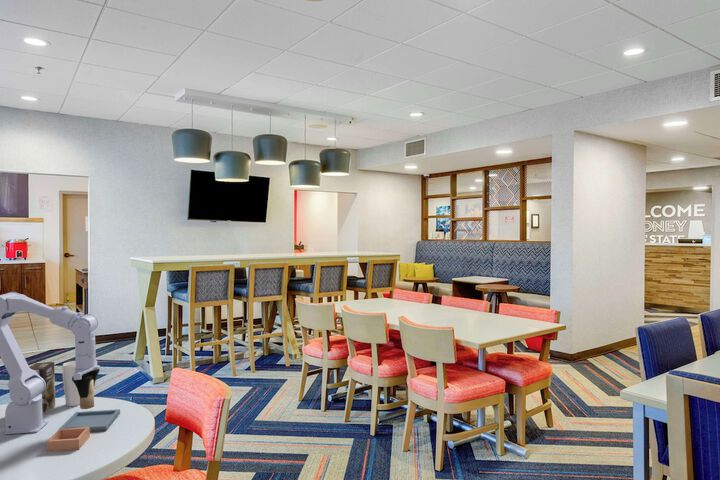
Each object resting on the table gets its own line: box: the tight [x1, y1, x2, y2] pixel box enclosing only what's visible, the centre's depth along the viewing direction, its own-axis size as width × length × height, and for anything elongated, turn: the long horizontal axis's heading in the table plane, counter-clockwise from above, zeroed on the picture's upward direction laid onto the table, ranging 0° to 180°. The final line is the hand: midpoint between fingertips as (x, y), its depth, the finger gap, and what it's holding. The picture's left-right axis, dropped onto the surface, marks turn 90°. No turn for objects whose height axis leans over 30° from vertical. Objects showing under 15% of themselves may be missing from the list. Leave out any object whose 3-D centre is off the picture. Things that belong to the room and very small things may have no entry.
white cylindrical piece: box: [61, 360, 80, 407], centre depth 181 cm, size 7×7×15 cm
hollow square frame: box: [46, 427, 91, 453], centre depth 150 cm, size 9×9×3 cm
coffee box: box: [29, 361, 56, 416], centre depth 175 cm, size 9×6×16 cm
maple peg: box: [79, 379, 95, 410], centre depth 162 cm, size 4×4×8 cm
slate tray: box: [58, 408, 121, 433], centre depth 165 cm, size 14×14×2 cm
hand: (86, 394), depth 162 cm, fingers closed on maple peg, 4 cm apart
